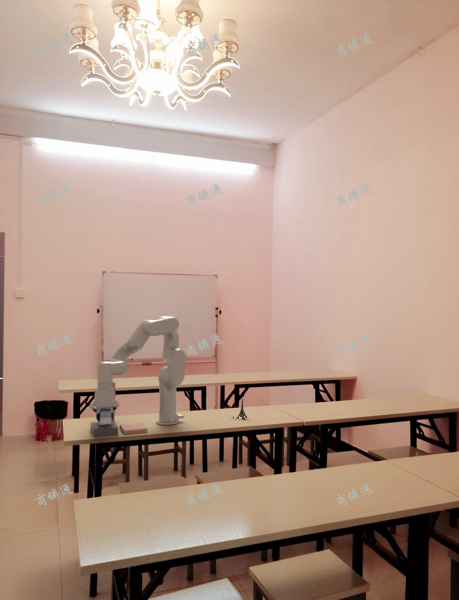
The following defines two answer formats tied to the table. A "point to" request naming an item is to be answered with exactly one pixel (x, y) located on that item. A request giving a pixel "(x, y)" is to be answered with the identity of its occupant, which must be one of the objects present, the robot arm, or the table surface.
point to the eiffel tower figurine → (242, 412)
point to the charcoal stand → (104, 429)
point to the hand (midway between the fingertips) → (104, 420)
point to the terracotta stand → (133, 428)
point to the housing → (105, 416)
